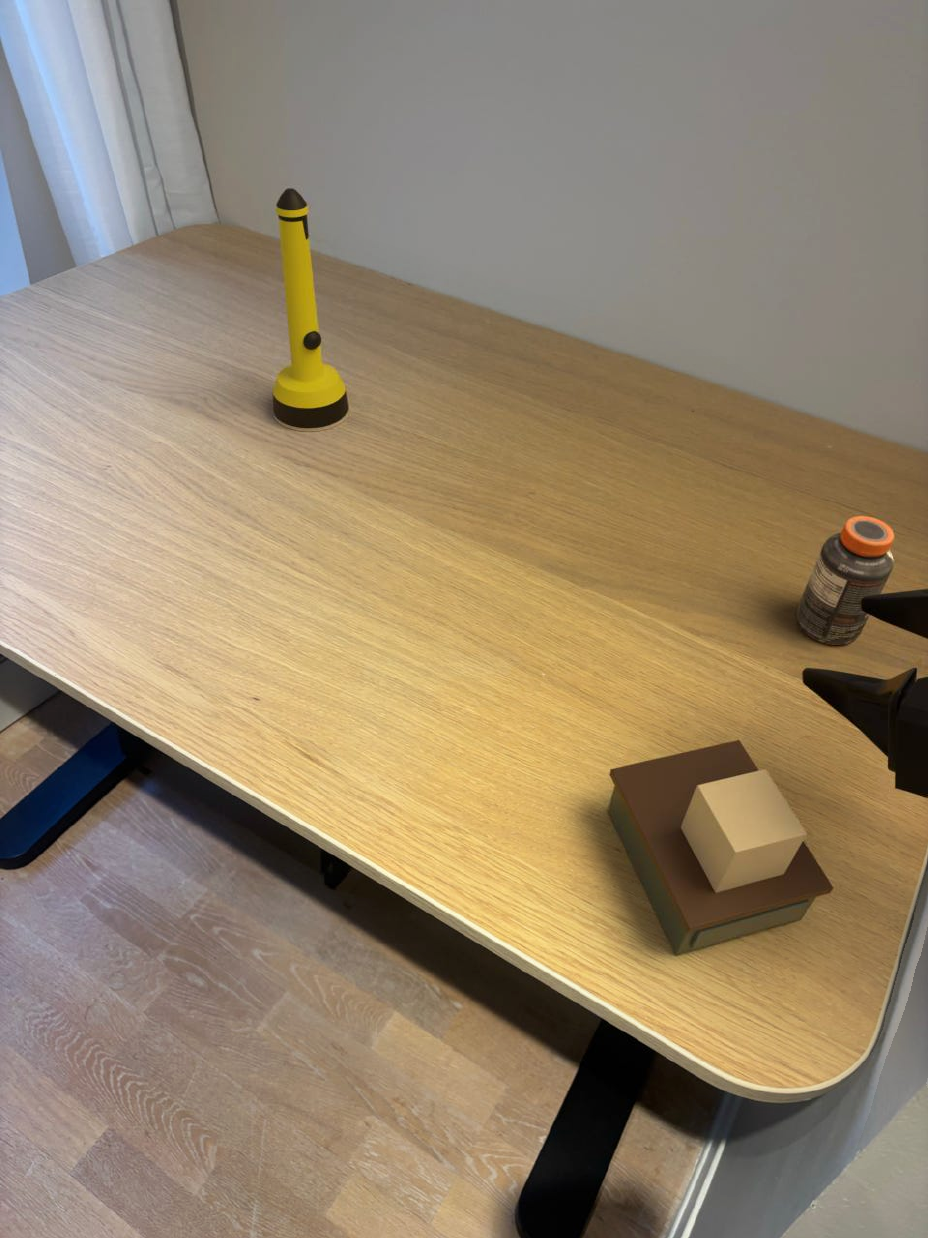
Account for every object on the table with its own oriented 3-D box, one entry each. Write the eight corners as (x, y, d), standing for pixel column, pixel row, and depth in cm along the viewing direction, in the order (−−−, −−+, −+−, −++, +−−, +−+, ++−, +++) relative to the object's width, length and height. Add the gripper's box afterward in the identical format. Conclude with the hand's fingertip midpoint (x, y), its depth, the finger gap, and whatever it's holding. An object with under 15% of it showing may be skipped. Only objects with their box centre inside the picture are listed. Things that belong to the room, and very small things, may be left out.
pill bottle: (860, 611, 82) (907, 516, 74) (859, 654, 78) (909, 558, 70) (795, 595, 84) (835, 500, 76) (791, 637, 80) (833, 541, 72)
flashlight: (228, 182, 87) (271, 211, 82) (307, 168, 91) (352, 194, 86) (259, 405, 104) (296, 439, 99) (325, 384, 108) (363, 416, 103)
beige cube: (783, 874, 57) (807, 833, 53) (715, 893, 56) (735, 852, 52) (745, 811, 60) (765, 768, 57) (680, 827, 59) (696, 785, 56)
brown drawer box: (809, 924, 60) (834, 888, 56) (672, 963, 57) (689, 928, 54) (722, 778, 68) (739, 739, 65) (599, 807, 66) (610, 768, 62)
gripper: (1178, 491, 49) (889, 468, 59) (1092, 672, 39) (760, 606, 49) (1147, 653, 54) (887, 606, 65) (1065, 849, 44) (771, 756, 55)
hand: (833, 637), depth 58 cm, fingers open, 9 cm apart
